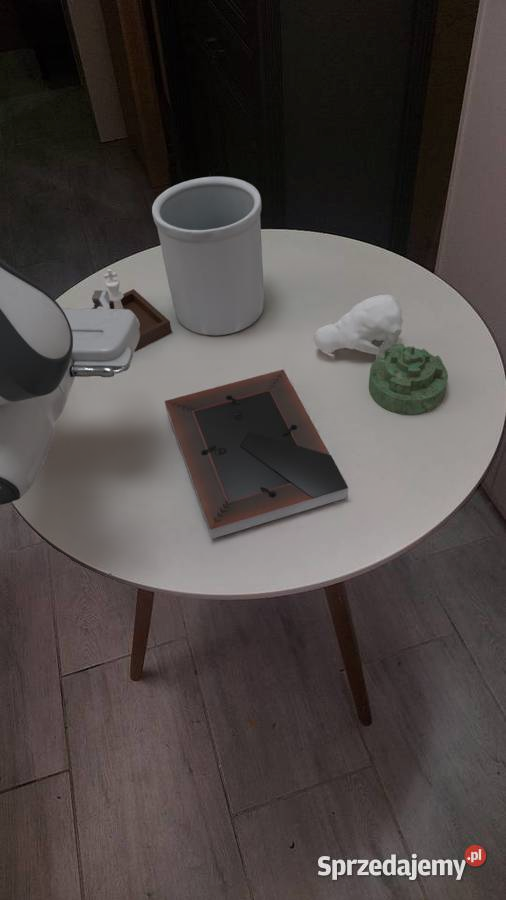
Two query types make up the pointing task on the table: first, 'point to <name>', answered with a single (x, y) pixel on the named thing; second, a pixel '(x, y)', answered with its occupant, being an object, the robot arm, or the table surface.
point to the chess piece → (114, 290)
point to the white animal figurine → (363, 327)
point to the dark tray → (145, 318)
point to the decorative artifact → (407, 380)
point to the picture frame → (253, 453)
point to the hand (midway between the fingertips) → (64, 294)
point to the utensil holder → (212, 253)
